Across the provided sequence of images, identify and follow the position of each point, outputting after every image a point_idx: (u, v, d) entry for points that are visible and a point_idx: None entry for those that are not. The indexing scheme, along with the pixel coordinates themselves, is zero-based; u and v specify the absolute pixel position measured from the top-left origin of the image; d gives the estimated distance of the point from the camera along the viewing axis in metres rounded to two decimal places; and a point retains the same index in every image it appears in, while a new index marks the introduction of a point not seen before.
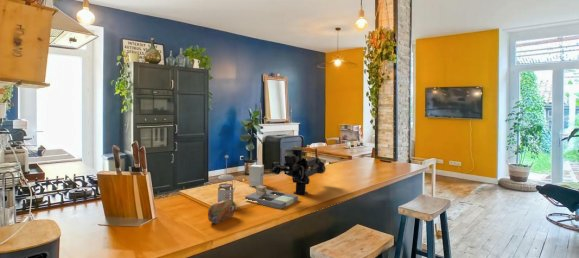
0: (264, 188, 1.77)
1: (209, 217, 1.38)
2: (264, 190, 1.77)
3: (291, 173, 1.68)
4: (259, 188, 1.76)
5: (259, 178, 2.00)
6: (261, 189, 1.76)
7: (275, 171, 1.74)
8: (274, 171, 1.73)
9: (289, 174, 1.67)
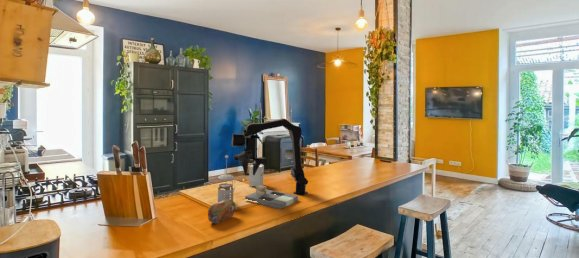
0: (264, 188, 1.77)
1: (209, 217, 1.38)
2: (264, 190, 1.77)
3: (255, 170, 1.79)
4: (259, 188, 1.76)
5: (259, 178, 2.00)
6: (261, 189, 1.76)
7: (246, 166, 1.83)
8: (246, 168, 1.83)
9: (255, 172, 1.80)
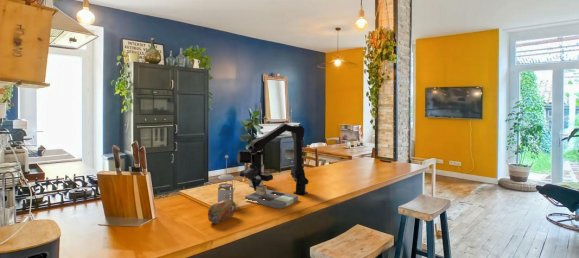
0: (264, 188, 1.77)
1: (209, 217, 1.38)
2: (264, 190, 1.77)
3: None
4: (259, 188, 1.76)
5: None
6: (261, 189, 1.76)
7: None
8: None
9: None
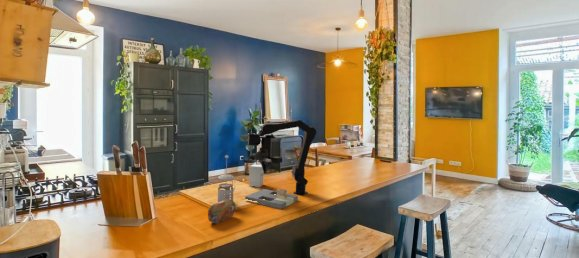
0: (285, 192, 1.72)
1: (209, 217, 1.38)
2: (285, 194, 1.72)
3: (267, 168, 1.85)
4: (280, 192, 1.71)
5: (259, 178, 2.00)
6: (282, 193, 1.70)
7: None
8: None
9: (266, 171, 1.86)
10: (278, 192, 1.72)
